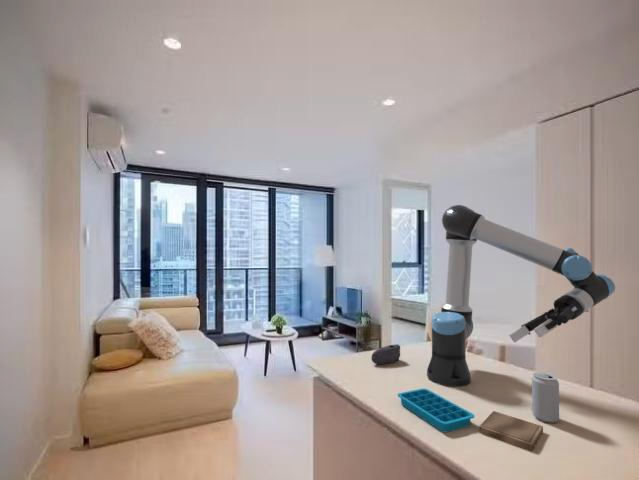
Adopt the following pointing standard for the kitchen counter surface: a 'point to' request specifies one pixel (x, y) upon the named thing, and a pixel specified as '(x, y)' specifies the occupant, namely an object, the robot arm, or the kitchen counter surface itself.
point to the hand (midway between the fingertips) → (523, 336)
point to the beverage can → (545, 397)
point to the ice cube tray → (436, 409)
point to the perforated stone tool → (386, 354)
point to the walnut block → (512, 430)
